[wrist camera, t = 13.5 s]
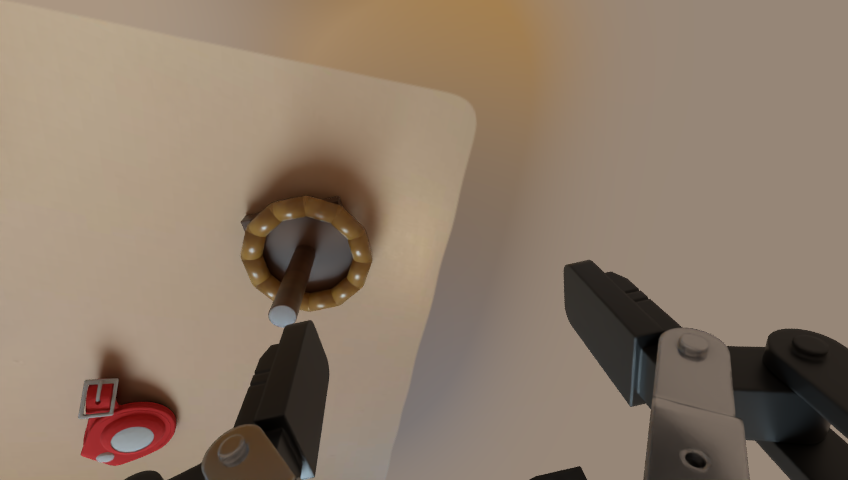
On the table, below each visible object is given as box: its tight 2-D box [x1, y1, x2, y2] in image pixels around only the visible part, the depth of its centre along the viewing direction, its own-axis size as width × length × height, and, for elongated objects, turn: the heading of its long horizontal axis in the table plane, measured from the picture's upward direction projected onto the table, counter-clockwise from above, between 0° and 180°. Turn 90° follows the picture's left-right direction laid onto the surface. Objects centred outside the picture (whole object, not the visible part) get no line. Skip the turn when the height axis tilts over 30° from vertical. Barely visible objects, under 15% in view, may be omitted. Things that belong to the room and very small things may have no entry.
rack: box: [241, 196, 353, 327], centre depth 34 cm, size 9×9×12 cm
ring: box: [241, 196, 372, 312], centre depth 37 cm, size 12×12×2 cm
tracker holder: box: [78, 378, 176, 466], centre depth 44 cm, size 12×4×10 cm
